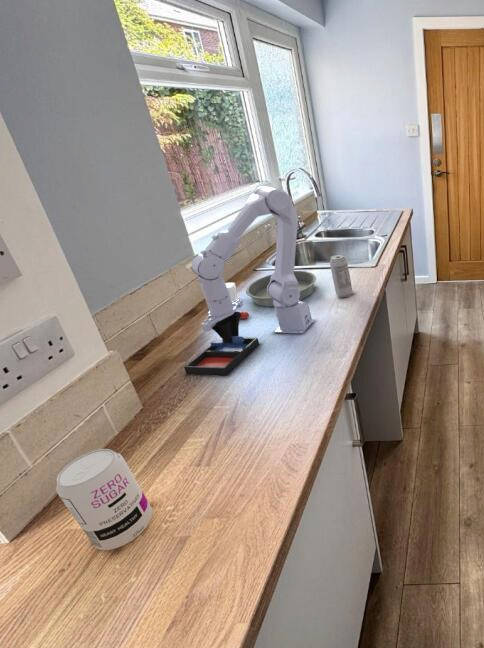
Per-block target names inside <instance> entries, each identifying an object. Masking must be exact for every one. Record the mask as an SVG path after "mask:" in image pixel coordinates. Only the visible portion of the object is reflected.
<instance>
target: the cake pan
mask: <svg viewBox="0 0 484 648" xmlns="http://www.w3.org/2000/svg"><path fill="white" fill-rule="evenodd" d="M271 275H272V274H269V275H265V276H262V277H260V278H258V279H256V280H255V281H252V282H251V283H249V284H248V286H247V287H246V288H245V293H246V295H247V296H248V297H250V298H251V299H252V300H253V302H254V303H255V304H256V305H258V306H261V307H274V305H273V301H274V300H273V298H271V297H270V296H269V295H268V293H267V286H268V284H269V283H270V280H271ZM294 275H295V277H296V279H297V281H298V289H299V291H300V298H299V301H301V300H303V299H305V298H308V297H309V296H310V295H311V294H312V293H313V292H314V285H315V283H316V281H317V277H316V275H315V274H314V273H313V272H310V271H305V270H294Z"/></svg>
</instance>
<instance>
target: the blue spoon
mask: <svg viewBox="0 0 484 648" xmlns="http://www.w3.org/2000/svg"><path fill="white" fill-rule="evenodd" d="M244 338H245V337H244V336H242V335H239V336H232V340H233V341H232V343H225V342H224V341H223V340H222V338H221V337H220V336H217V337H215V338H214V339H213V340H211V342H210V345H211V346H221V347H223V346H224V345H225V344H243V343H244V341H245V339H244Z"/></svg>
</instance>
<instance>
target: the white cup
mask: <svg viewBox="0 0 484 648" xmlns="http://www.w3.org/2000/svg"><path fill="white" fill-rule="evenodd" d="M225 284H226V287H227V290H228V293H229V296H230V299H231V302H232V301H234V300H239V296H238V292H237V291H238V290H237V286H236V282H232V281H227V282H225Z"/></svg>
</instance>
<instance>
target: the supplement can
mask: <svg viewBox="0 0 484 648" xmlns="http://www.w3.org/2000/svg"><path fill="white" fill-rule="evenodd" d="M56 482H57V483H56V486H55V492H56V493H57V495H58V497H59V498H60V500H61V501H62V502H63V504H64V505H65V507H66V508H67V510H68V511H69V512H70V514H71V515H72V517H73V518H74V519H75V521H76V522H77V524H78V526H79V527H80V528H81V529H82V531H83V533H84V534H85V535H86V537H87V539H89V541H90V543H91V544H92V545H93V547H94V548H95V549H96V550H99V551H110V550H111V551H112V550H116V549H118V548H121V547H123V546H126V545H128V544H129V543H131V542H132V541H134V540H136V539H137V538H138V537H139V536H140V535H142V533H143V532H144V531H145V529H146V528H147V527H148V525H149V524H150V523H151V520H152V519H153V515H154V514H153V513H154V512H153V511H154V509H153V508H152V506H151V504H150V502H149V500H148V499H147V497H146V495H145V494H144V492H143V490H142V487H140V485H139V483H138V481H137V479H136V478H135V476H134V474H133V472H132V471H131V469H130V467H129V465H128V463H127V461H126V460H125V458H124V457H123V456H122V454H121V453H119V452H115V451H114V450H112V449H109V448H100V449H95V450H92V451H89V452H87V453H84V454H83V455H80V456H78V457H77V458H75V459H73V460H72V461H70V462H69V463H68V464H67V465H66V466H64V467H63V468H62V469H61V471H60V472H59V473H58V474H57V477H56Z"/></svg>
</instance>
